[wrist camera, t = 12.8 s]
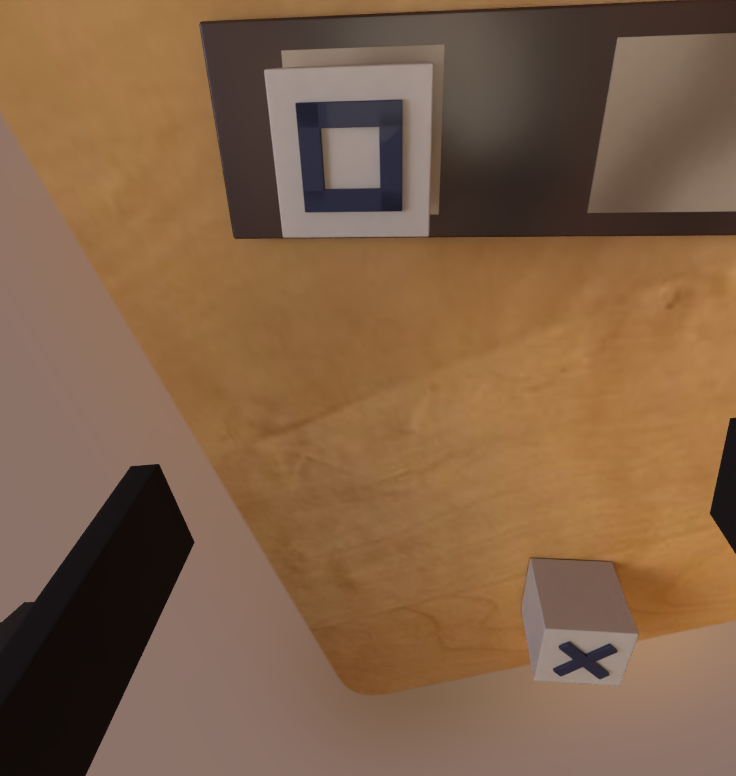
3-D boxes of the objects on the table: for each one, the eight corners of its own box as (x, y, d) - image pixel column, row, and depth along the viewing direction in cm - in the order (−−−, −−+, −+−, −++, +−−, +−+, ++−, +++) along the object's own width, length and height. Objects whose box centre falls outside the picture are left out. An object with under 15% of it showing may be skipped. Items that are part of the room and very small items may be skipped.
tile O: (296, 66, 20) (261, 69, 16) (431, 61, 20) (433, 62, 15) (308, 204, 23) (281, 239, 18) (428, 203, 22) (429, 238, 18)
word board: (239, 232, 25) (232, 239, 24) (207, 23, 21) (197, 21, 20) (798, 228, 23) (814, 236, 22) (887, -8, 18) (911, -11, 18)
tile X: (520, 608, 37) (534, 684, 32) (529, 557, 34) (546, 632, 30) (597, 612, 36) (621, 690, 32) (612, 561, 34) (641, 637, 29)
